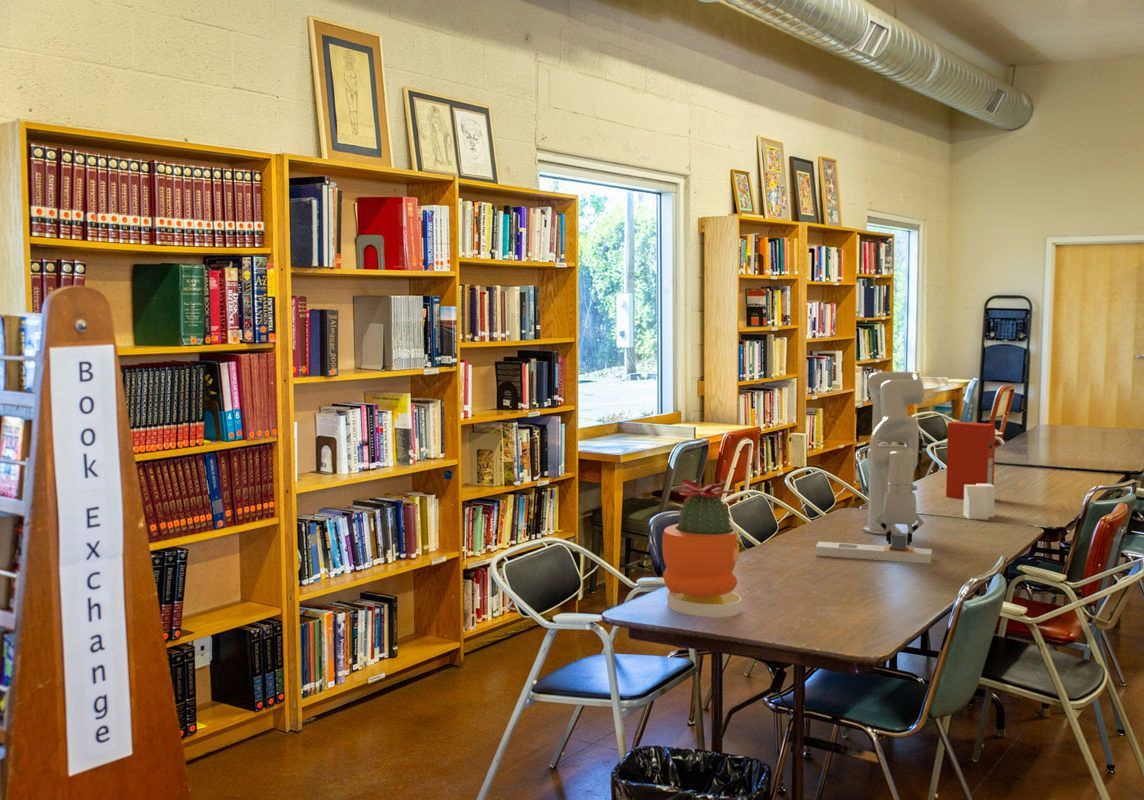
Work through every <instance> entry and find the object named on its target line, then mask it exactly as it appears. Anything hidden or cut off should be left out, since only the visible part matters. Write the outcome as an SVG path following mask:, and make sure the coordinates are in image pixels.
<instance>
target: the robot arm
mask: <svg viewBox="0 0 1144 800" xmlns="http://www.w3.org/2000/svg"><path fill="white" fill-rule="evenodd" d="M866 383H867V390H868V393H869V394H870V397H871V398H870V399H871V401H872V420H871V421H872V426H871V431H872V432H871V434H870V438H869V448H868V450H867V452H866V461H867V468H868V511H867V513H868V515H867V516H868V517H867V519H868V521H867V525H865V526H863V531H864V532H866V533H869V534H875V535H885V536H886V537H885V540H886V542H887V543H888V545H891V544H892V533H901V532H900V531H901V529H900V528H899V527H897V526H896V525H906V526H907V529H908V531H907V533H906V534H907V544H906V546H907V547H911V546H910V544H912V543H913V533H914V532H916V530H918V529H919V528H921V527H922V526H923V525H924V523H925V521H923V519H922V518H921V517H920V516H919V515H918V513H917V499H916V494H915V493H916V492H914V491H917V490H918V485H914V483H913V482H914V480H913V479H914V471H915V470H916V468H917V465H918V459H919V458H918V456H919V424H918V420H917V419H916V418H915V417H914V416H911V415H908V406H907V405H920V404H922V403H923V402H924V400H925V388H924V387H925V386H924V384H923V381H922V379H921V377H920V375H919V374H918V373H916V372H912V371H876V372H871V373H870V374H869V375H868V376H867V382H866ZM879 442H882V443H903V444H879ZM916 521H917V523H916Z"/></svg>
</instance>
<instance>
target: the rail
mask: <svg viewBox="0 0 1144 800" xmlns="http://www.w3.org/2000/svg"><path fill="white" fill-rule="evenodd" d="M932 550H933V548H923V547H919V548H918V547H913V546H906V551H894V550H891V545H877V544H876V545H875V544H862V543H861V544H859V543H845V542H831V541H830V542H829V541H817V544H816V546H815V556H818V557H829V558H830V557H833V558H843V559H844V558H845V559H859V560H872V559H873V560H875V561H876V560H877V561H888V562H901V563H917V564H918V563H919V564H928V565H929V564H930V565H931V564H932V558H933V556H932V555H933V554H932V552H933V551H932Z"/></svg>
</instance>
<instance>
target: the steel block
mask: <svg viewBox="0 0 1144 800" xmlns="http://www.w3.org/2000/svg"><path fill="white" fill-rule="evenodd" d="M907 534H908V533H905V532H904V533H903V532H899V533H892V534H891V544H890V546H891V550H894V551H906V547H907Z"/></svg>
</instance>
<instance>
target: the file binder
mask: <svg viewBox="0 0 1144 800" xmlns="http://www.w3.org/2000/svg"><path fill="white" fill-rule="evenodd" d="M946 438H947V439H946V440H947V442H946V443H947V444H946V485H945V487H946V488H945V489H946V490H945V491H946V492H945V493H946V494H945V497H946V498H952V499H961V500H964V485H976V484H992V485H993V486H995V453H996V452H995V450H996V447H995V446H996V424H995V423H984V422H983V423H982V422H981V423H980V422H969V421H968V422H967V421H951V422H948V423H947V437H946Z"/></svg>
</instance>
